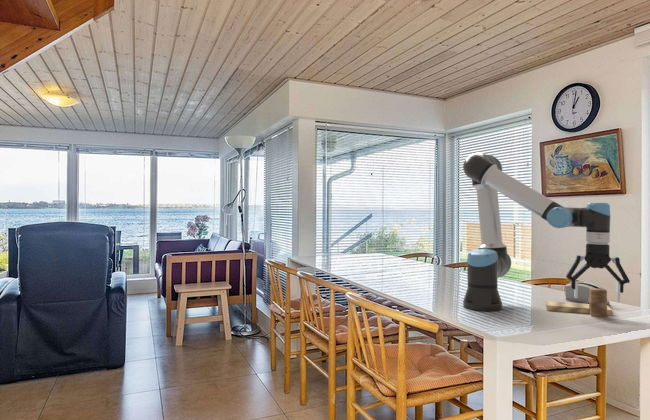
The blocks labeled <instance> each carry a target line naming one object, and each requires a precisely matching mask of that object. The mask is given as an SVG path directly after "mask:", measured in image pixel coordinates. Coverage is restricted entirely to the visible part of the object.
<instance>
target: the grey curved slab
mask: <svg viewBox="0 0 650 420" xmlns="http://www.w3.org/2000/svg"><path fill="white" fill-rule="evenodd" d="M589 288H600V289H604V288H603V287H602V286H600V285H598V284H595V283H591V282H588V281H578V298H575V297H574V289H572V288H571V281H570V282H568V283H566V284H565V286H564V294H565V300H569V301H575V302H577V303H583V304H588V298H589ZM607 306H611V303H610V300H608V299H607Z"/></svg>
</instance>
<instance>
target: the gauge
mask: <svg viewBox="0 0 650 420" xmlns="http://www.w3.org/2000/svg"><path fill="white" fill-rule="evenodd" d="M607 294H608V290H607V289H605V288H603V289H600V288H589V298H588V303H589V314H588V315H590V317H594V316H595V317H596V318H597V317H599V318H606V317H607V318H608V315H607V306H608V305H607V300H608V295H607ZM588 303H587V304H588Z"/></svg>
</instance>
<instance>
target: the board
mask: <svg viewBox="0 0 650 420" xmlns="http://www.w3.org/2000/svg"><path fill="white" fill-rule="evenodd" d="M544 306H545V309H546V311H551V312H552V311H553V312H564V313H577V314H588V315H590V314H589V304H588V303H583V302H567V301H549V300H545V301H544ZM607 316H613V309H612V308H611V307H610V305H607Z"/></svg>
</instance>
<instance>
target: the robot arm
mask: <svg viewBox="0 0 650 420" xmlns="http://www.w3.org/2000/svg"><path fill="white" fill-rule="evenodd" d="M462 167H463V168H462V169H463V170H462V171H463V172H464V174H465V176H466V177H467V178H468V179H471V183H472V184H471V185H472V188H474V190H476V197H477V198H476V199H477V208H478V211H477V212H478V219H479V220H478V221H479V231H480V241H481V242H480V245H479V246H478V247H477V249H473V250H470V251H469V252H467V258H466V263H467V264H466V265H467V267H466V269H467V270H466V271H467V276H466V277H467V289H466V292H465V294H464V296H463V302H462V306H463V308H466V309H469V310H473V311H483V312H495V311H497V312H498V311H501V310H503V301H502V299H501V295H500V293H499V290H498V278H500V277H503V276H506V274H507V273H509V272H510V269H511V267H512V260H511V256H510V254H508V246H507V245H506V244H505V243H504V242H503V236H502V224H501V223H502V222H501V216H500V203H499V193H500V194H501V195H504V196H505V197H506V198H509V199H510V200H511V201H513V202H515V203H517V204H518V205H520V206H521V207H523V208H525V209H527V210H528V211H530V212H531V213H533V214H535V215H536V216H538V217H539V218H541V219H543V220H544V221H546V222H547V223H548V224H549V225H550V226H551V227H553V228H556V229H565V228H568V227H569V228H572V227H573V228H575V227H576V228H586V230H585V231H586V232H585V233H586V234H585V239H586V240H585V242H586V244H585V255H579V254H576V255H575V260H574V261H573V264H572V266H571V267H570V269H569V271H568V272H567V273H566V276H565V277H566V278H567V279H568V280H570V282H571V288H572V289H574V297H575V298H578V282H579V281H578V280H577V279H578V278H580V277H581V275H583V274H584V273H585V272H586V271H587V270H588V269H590V268H592V269H604V268H605V269H606V271H608V273H609V274H610V275H611V276H612V278H614V279H615V280H616V281H617V283H615V301H616V302H617V303H620V301H621V294H623V293H624V285H625V284H629V283H630V282H631V280H630V279H629V277H628V275H627V273H626V272H625V270H624V268H623V266H622V264H621V260H620V257H618V256H613V257H610V248H611V247H610V243H611V242H610V241H611V240H610V236H611V234H610V233H611V231H610V229H611V205H610V204H609V203H608V202H588V203H586V206H585V207H571V206H569V207H565V206H563V205H561V204H559V203H557V202H555V201H554V200H552V199H551V198H549V197H548V196H546V195H544V194H542V193H540V192H538V191H537V190H536V189H533V188H531V186H528V185H526V184H525V183H523V182H522V181H519V180H518V179H516V178H514V177H513V176H511V175H509V174H508V173H505V172H504V171H503V165H502V163H501V161H500V160H499V159H498V158H496V156H494V155H491V154H487V153H482V152H475V153H470V155H469V154H468V156H467V157H465V159H464V161H463V165H462ZM498 192H499V193H498ZM583 260H584V261H585V262H586V263H585V264H583V266H582V267H581V268H580V269H579V270H577V268H578V266H579V265H580V263H581V262H582V261H583ZM610 262H612V263H613V264H614V265H615V266H616V268H617V270H618V272H619V273H620V276H621V277H622V278H620V276H619V275H618V274H617V273H616V272H615V271H614V270H613V268H611V267H610V265H609V263H610ZM576 270H577V272H576V273H575V271H576ZM573 274H574V275H573Z"/></svg>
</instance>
